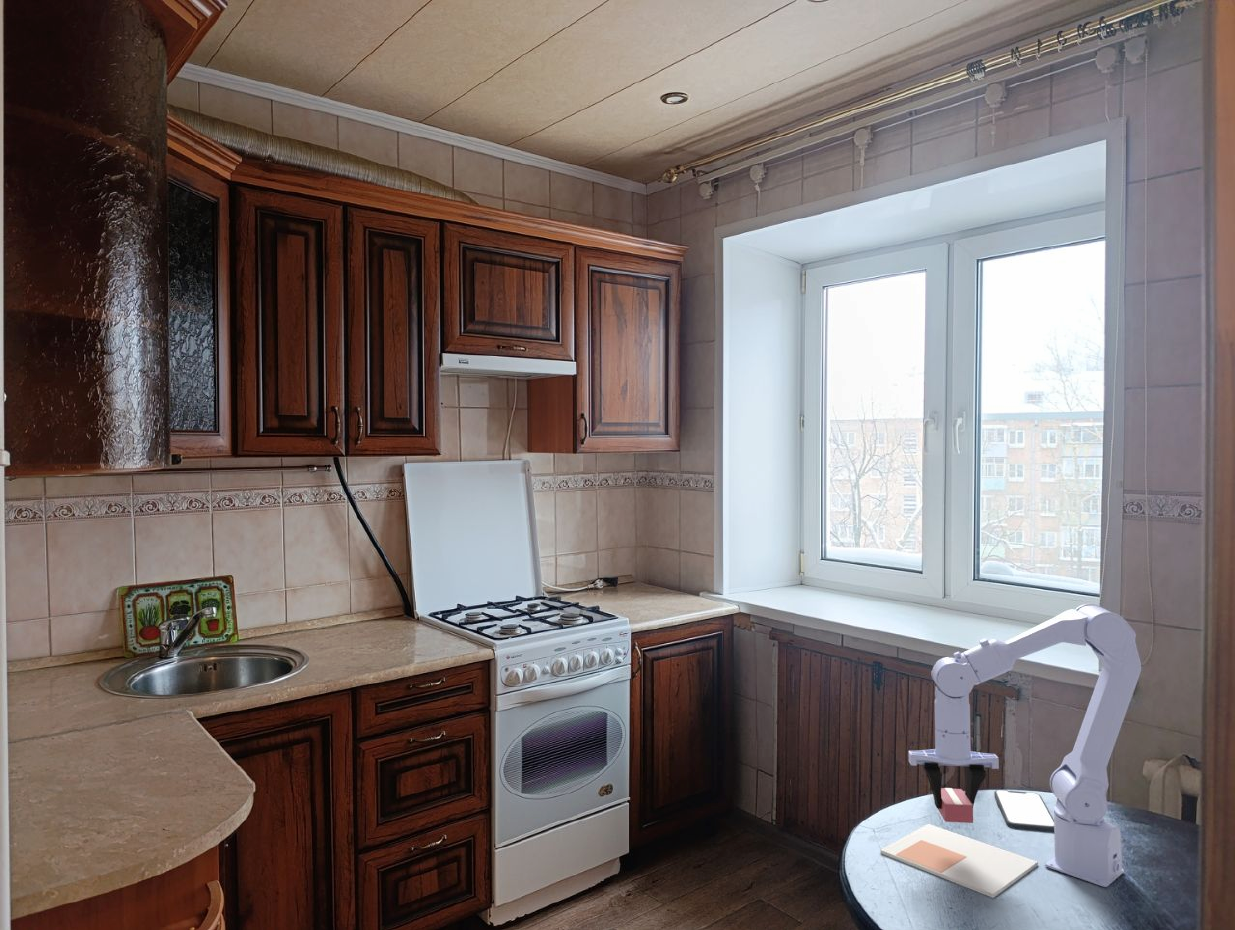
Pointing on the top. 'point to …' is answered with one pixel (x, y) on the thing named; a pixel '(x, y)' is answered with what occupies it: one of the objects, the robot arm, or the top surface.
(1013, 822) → the smartphone
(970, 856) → the mat
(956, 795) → the card box
